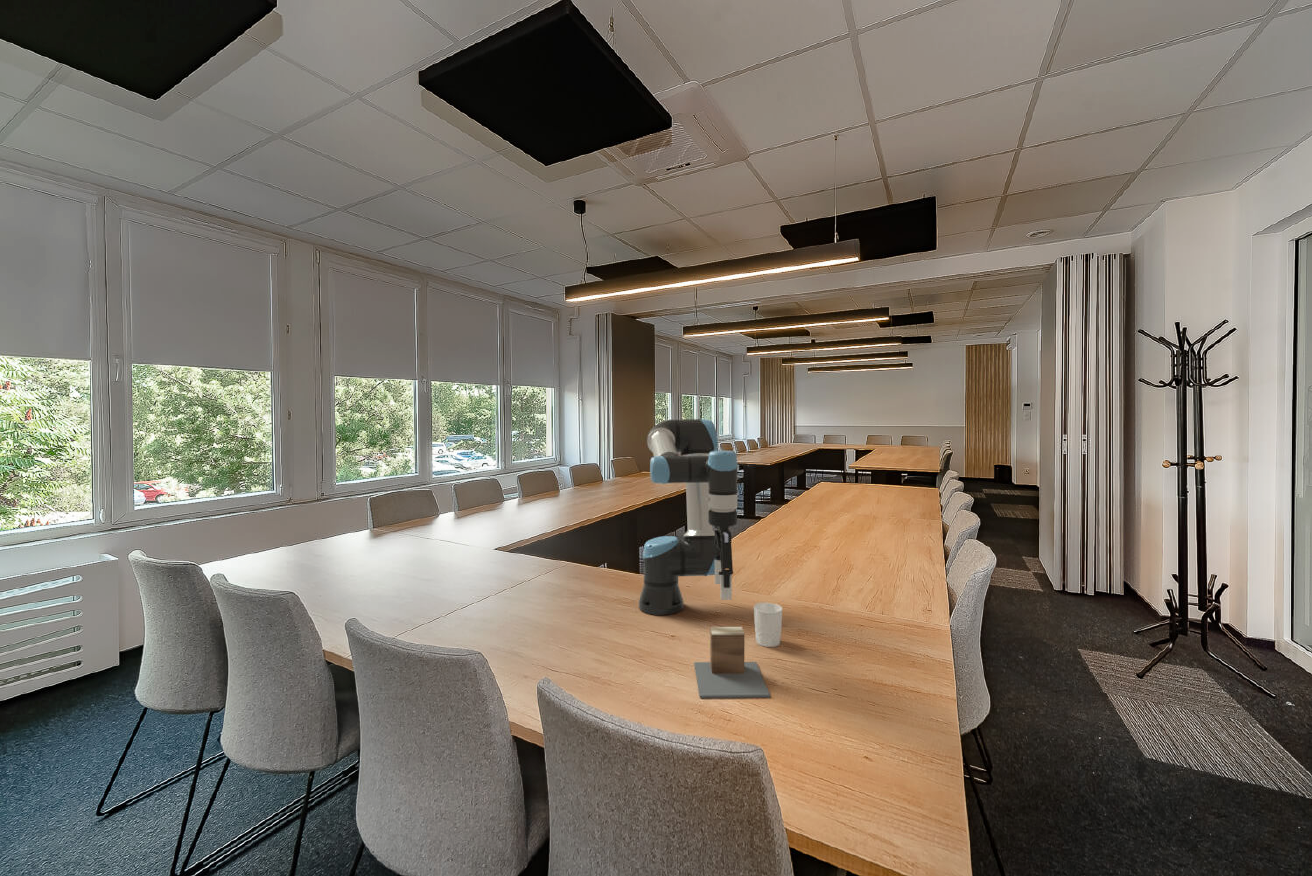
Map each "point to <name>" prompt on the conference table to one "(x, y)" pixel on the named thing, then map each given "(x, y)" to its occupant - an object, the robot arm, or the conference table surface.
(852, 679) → the conference table surface
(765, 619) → the white cup
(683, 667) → the conference table surface
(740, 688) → the rubber mat
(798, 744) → the conference table surface
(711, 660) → the walnut slab
